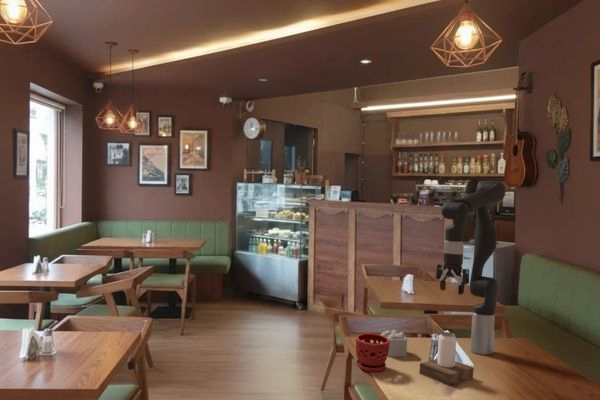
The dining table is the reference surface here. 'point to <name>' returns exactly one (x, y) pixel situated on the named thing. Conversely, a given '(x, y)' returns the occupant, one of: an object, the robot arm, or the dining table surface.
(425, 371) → the walnut stand
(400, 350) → the lumpy-topped squat cylinder
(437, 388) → the dining table surface
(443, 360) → the can
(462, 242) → the robot arm
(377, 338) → the plant pot
